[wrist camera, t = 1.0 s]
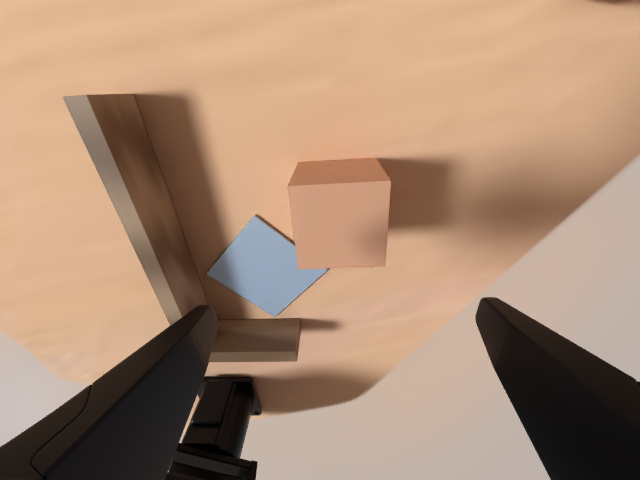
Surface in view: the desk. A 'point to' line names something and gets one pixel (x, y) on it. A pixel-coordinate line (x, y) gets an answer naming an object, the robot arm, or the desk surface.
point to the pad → (263, 268)
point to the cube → (340, 213)
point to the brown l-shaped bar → (164, 227)
